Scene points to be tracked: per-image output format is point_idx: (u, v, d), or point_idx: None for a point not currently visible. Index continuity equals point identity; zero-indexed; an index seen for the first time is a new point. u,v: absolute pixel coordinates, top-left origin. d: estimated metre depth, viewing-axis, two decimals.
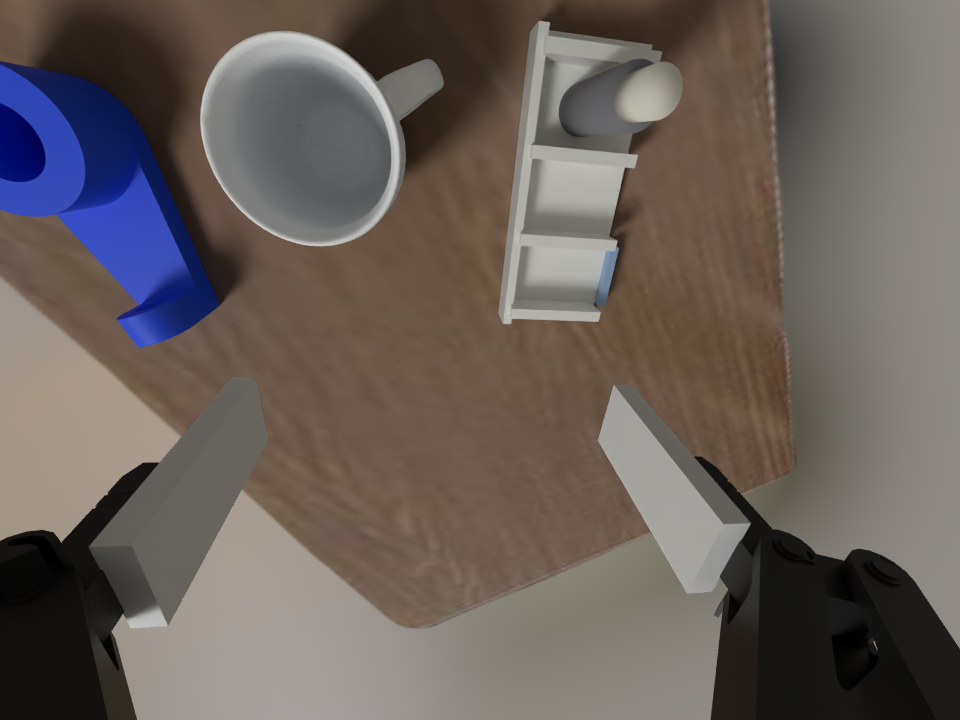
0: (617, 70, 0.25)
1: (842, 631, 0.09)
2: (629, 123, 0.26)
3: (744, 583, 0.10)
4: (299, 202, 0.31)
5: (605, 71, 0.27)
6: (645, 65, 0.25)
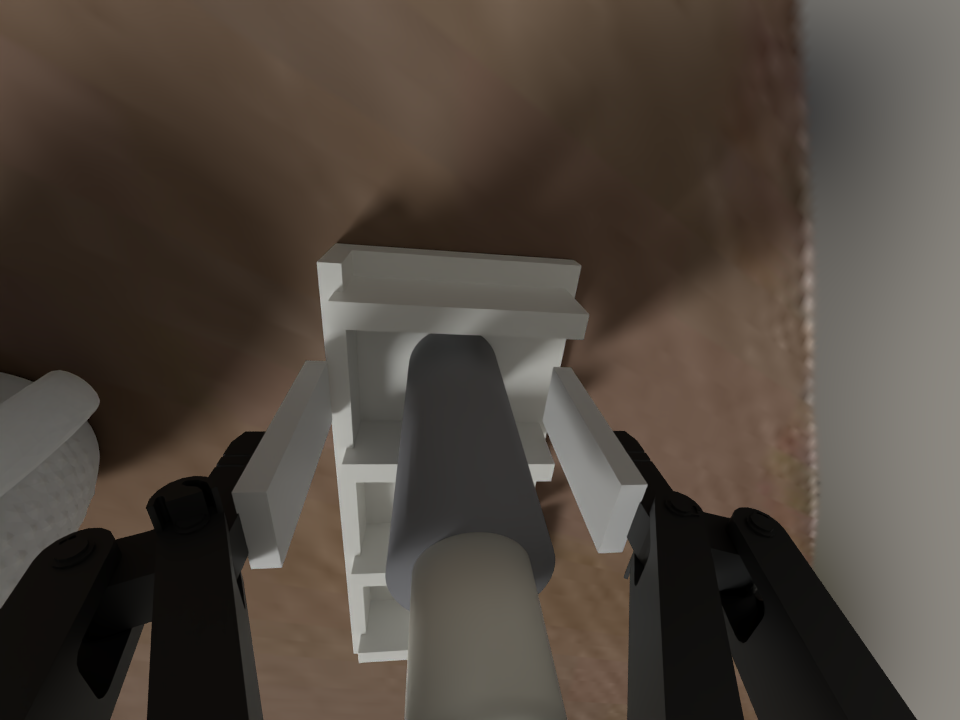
0: (408, 536, 0.09)
1: (725, 580, 0.10)
2: None
3: (645, 544, 0.11)
4: None
5: (429, 432, 0.11)
6: (488, 523, 0.09)
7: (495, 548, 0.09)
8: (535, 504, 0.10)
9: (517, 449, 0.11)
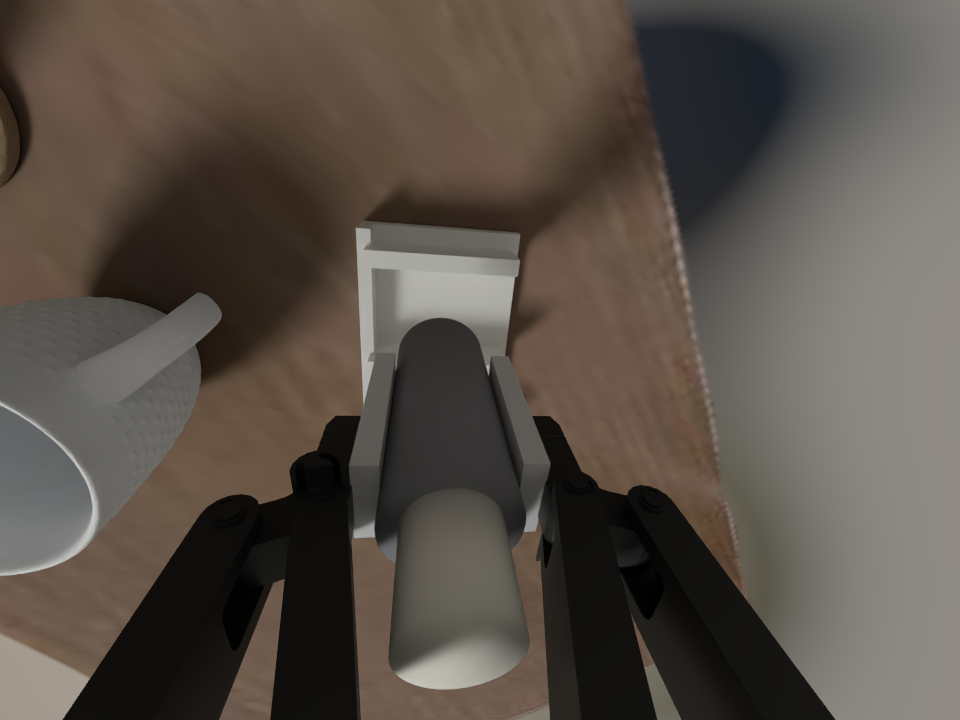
0: (393, 493, 0.10)
1: (620, 555, 0.11)
2: None
3: (550, 526, 0.11)
4: (54, 445, 0.24)
5: (413, 408, 0.12)
6: (463, 479, 0.10)
7: (469, 501, 0.10)
8: (508, 466, 0.11)
9: (494, 421, 0.13)
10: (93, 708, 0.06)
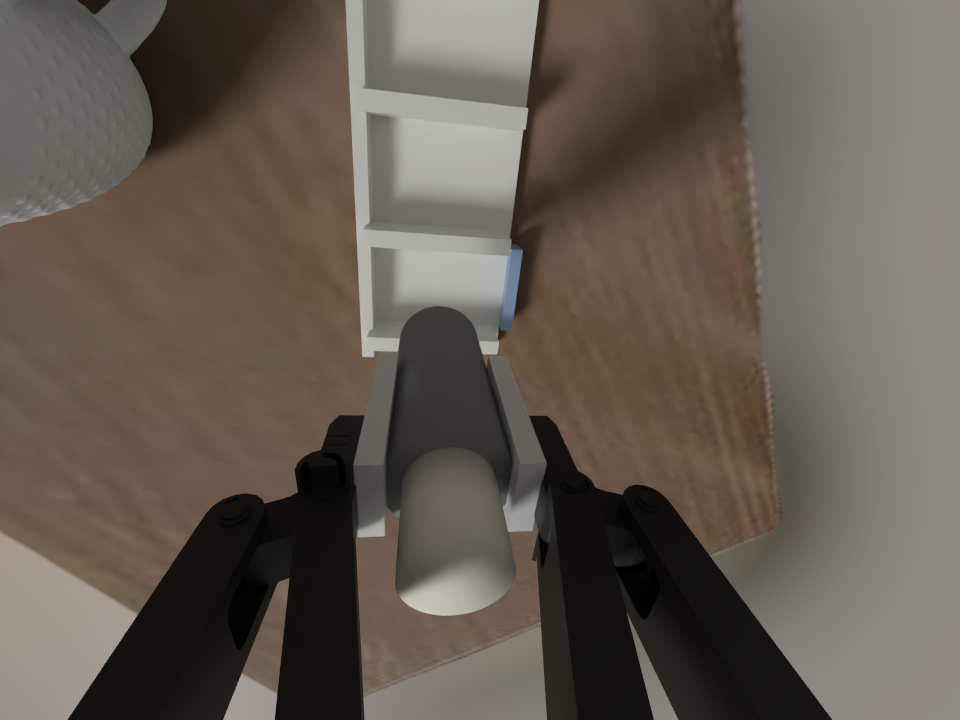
0: (398, 451, 0.11)
1: (616, 555, 0.11)
2: None
3: (547, 526, 0.11)
4: None
5: (414, 382, 0.14)
6: (459, 439, 0.11)
7: (465, 457, 0.11)
8: (499, 431, 0.12)
9: (487, 394, 0.14)
10: (100, 705, 0.06)
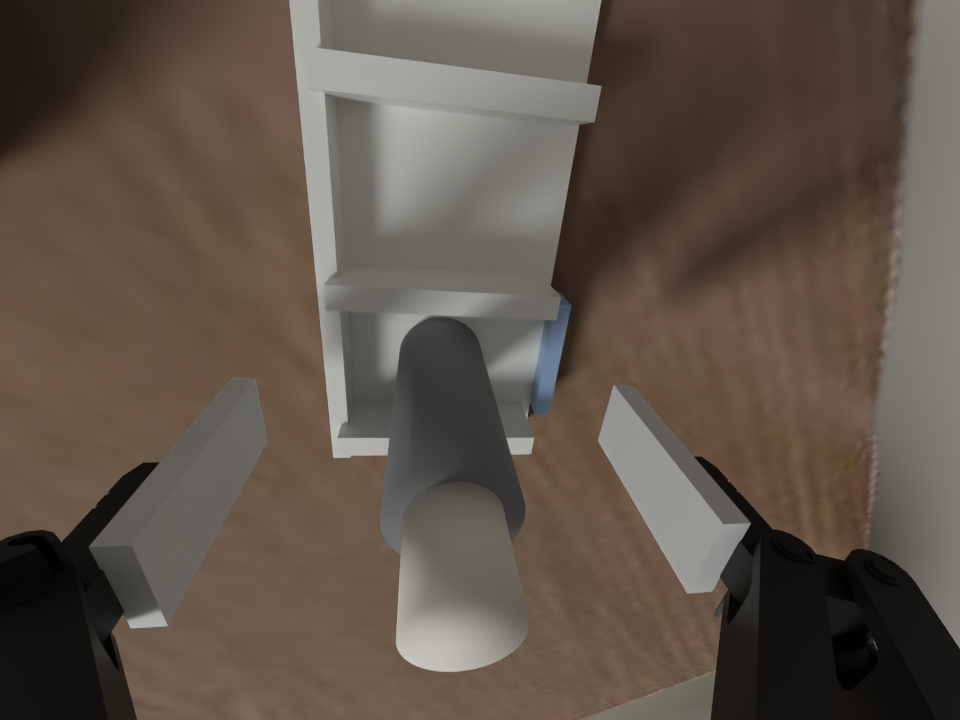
0: (398, 486, 0.10)
1: (841, 630, 0.09)
2: None
3: (744, 583, 0.10)
4: None
5: (416, 405, 0.13)
6: (465, 473, 0.10)
7: (471, 493, 0.10)
8: (508, 461, 0.11)
9: (494, 418, 0.13)
10: None
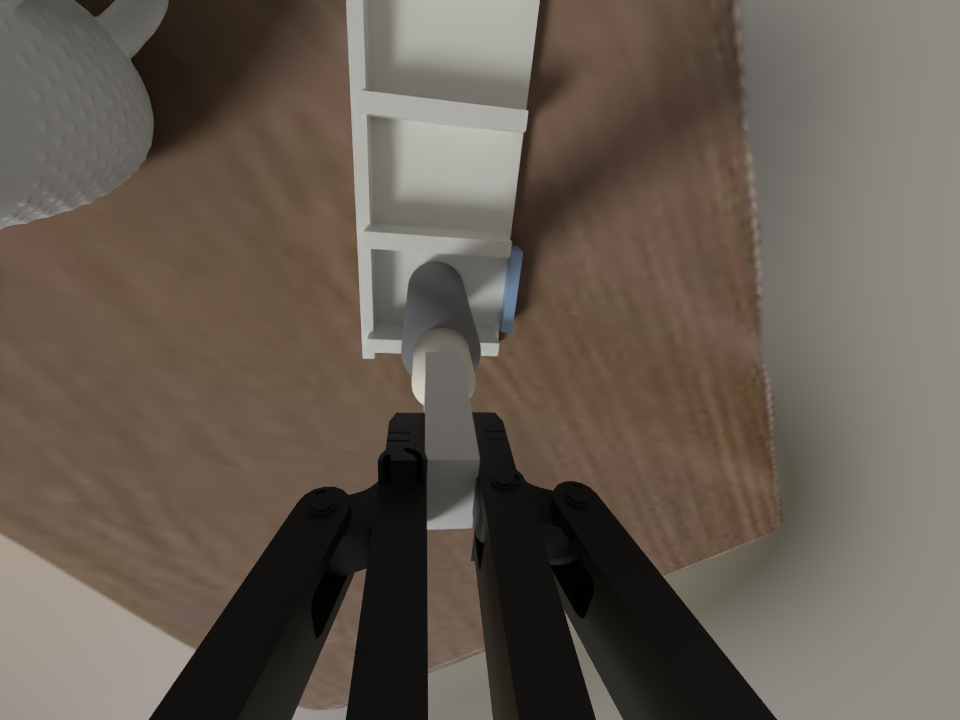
0: (411, 328, 0.19)
1: (546, 552, 0.10)
2: None
3: (481, 525, 0.11)
4: None
5: (420, 299, 0.22)
6: (447, 322, 0.19)
7: (450, 331, 0.19)
8: (471, 323, 0.21)
9: (466, 307, 0.22)
10: (202, 673, 0.06)
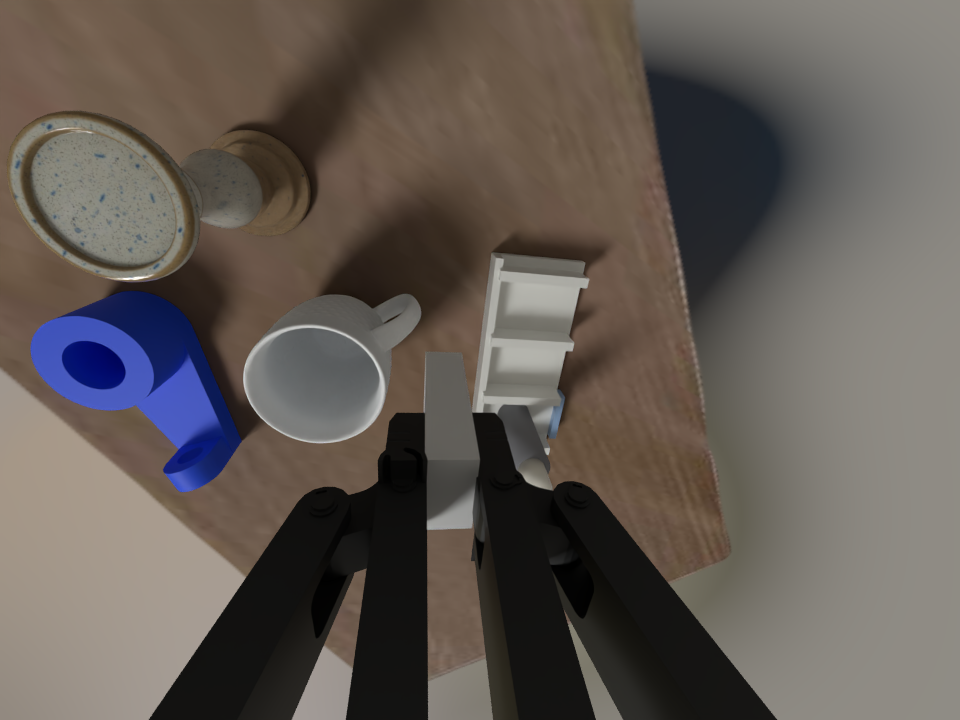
0: (518, 458, 0.40)
1: (546, 552, 0.10)
2: None
3: (482, 525, 0.11)
4: (308, 383, 0.40)
5: (517, 437, 0.43)
6: (535, 456, 0.40)
7: (537, 461, 0.40)
8: (545, 454, 0.41)
9: (540, 441, 0.43)
10: (202, 673, 0.06)
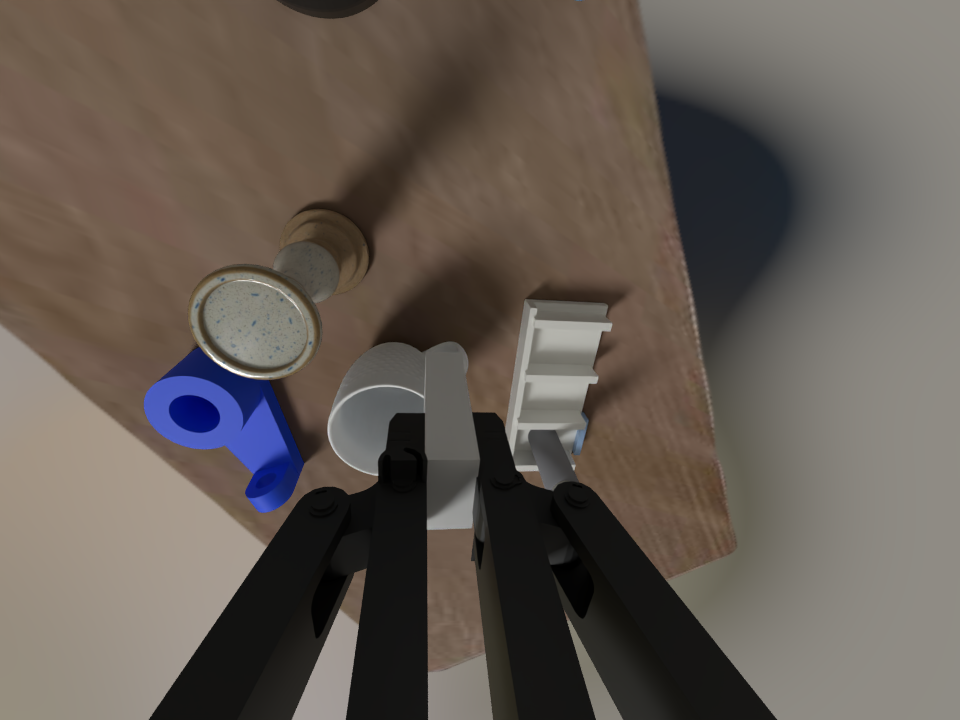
0: (553, 481, 0.46)
1: (546, 552, 0.10)
2: None
3: (482, 525, 0.11)
4: (368, 419, 0.46)
5: (549, 460, 0.49)
6: (568, 478, 0.46)
7: None
8: (575, 475, 0.48)
9: (570, 463, 0.49)
10: (201, 673, 0.06)
